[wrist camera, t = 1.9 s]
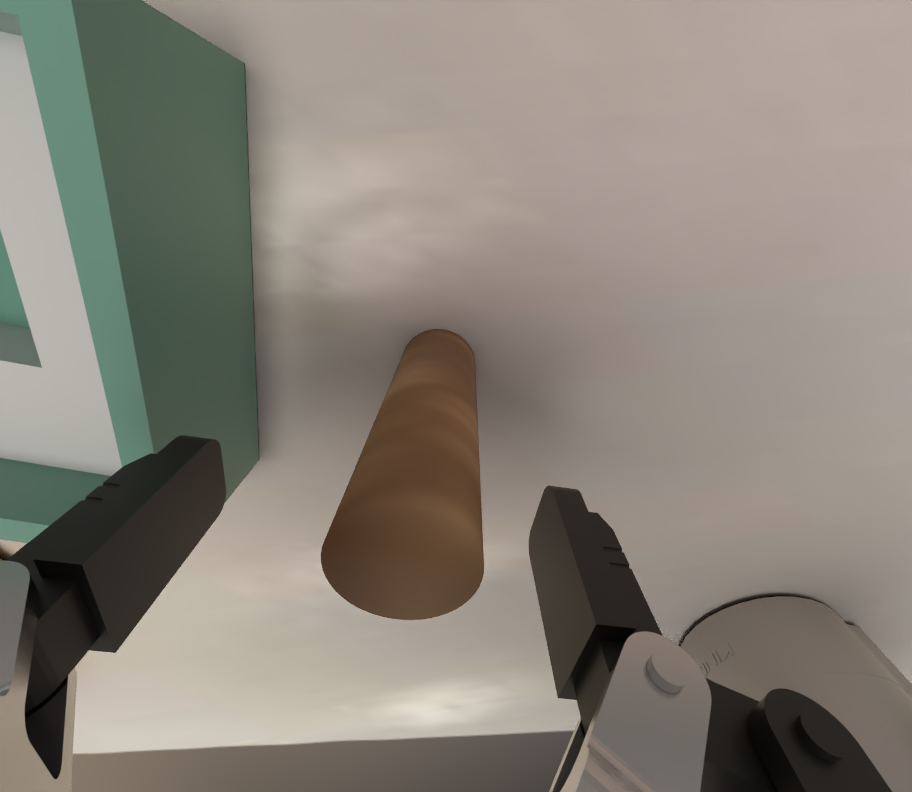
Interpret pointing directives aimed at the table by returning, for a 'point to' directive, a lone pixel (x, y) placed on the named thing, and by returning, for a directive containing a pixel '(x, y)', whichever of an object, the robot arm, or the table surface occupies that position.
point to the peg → (415, 492)
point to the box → (118, 251)
